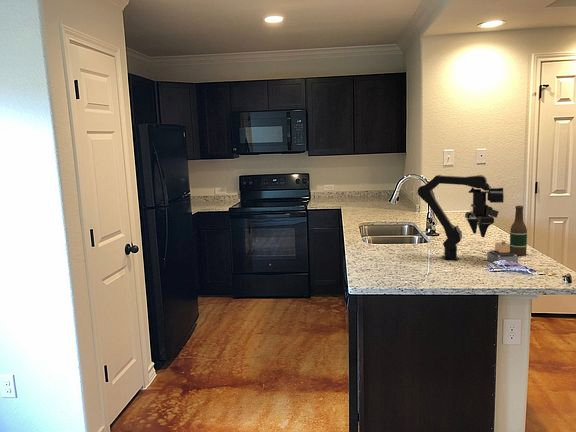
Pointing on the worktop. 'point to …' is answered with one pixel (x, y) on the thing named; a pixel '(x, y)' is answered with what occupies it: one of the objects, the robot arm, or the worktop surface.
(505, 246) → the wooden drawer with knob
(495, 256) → the drawer cabinet
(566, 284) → the worktop surface
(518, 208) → the beer bottle
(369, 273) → the worktop surface
